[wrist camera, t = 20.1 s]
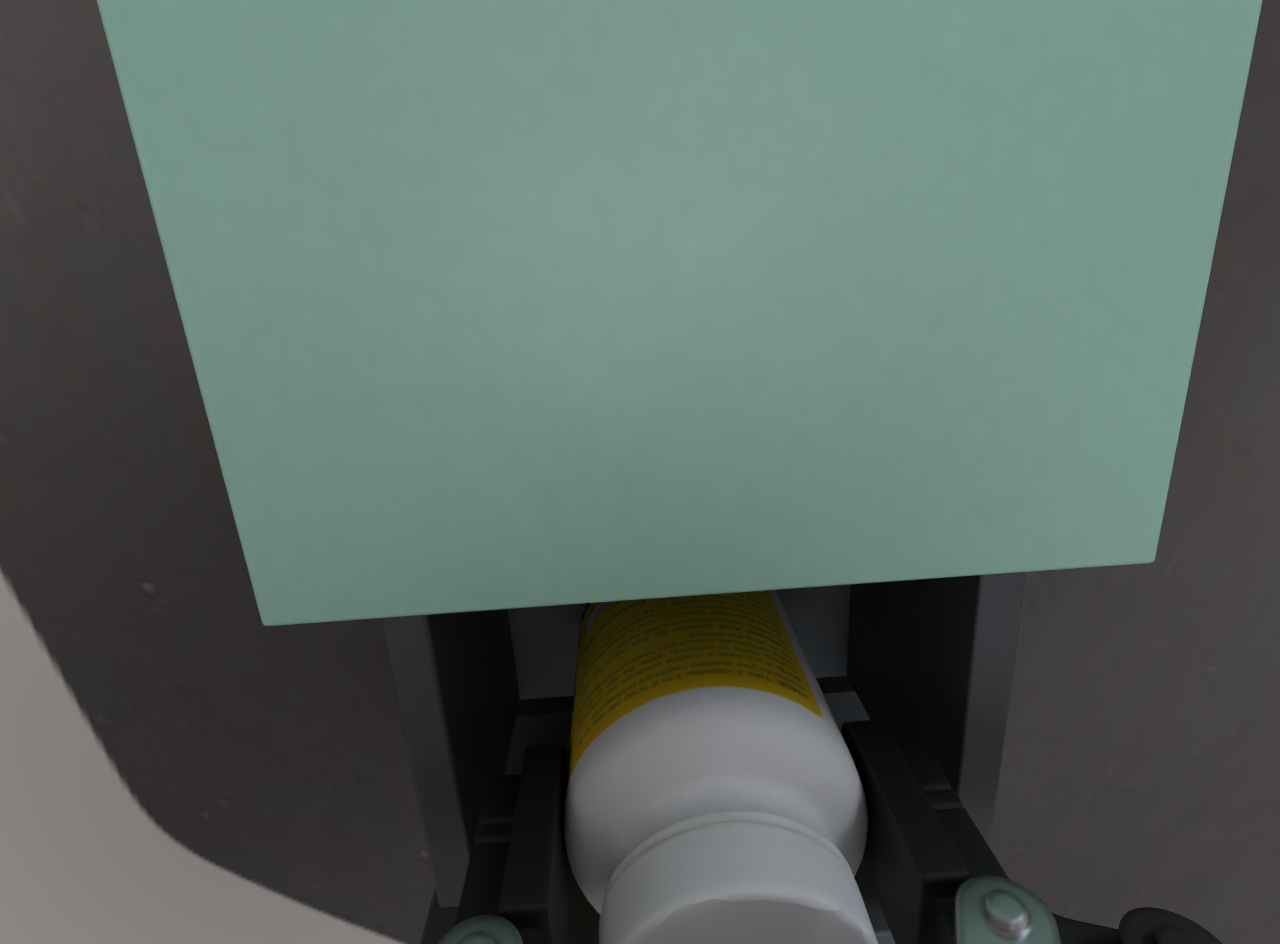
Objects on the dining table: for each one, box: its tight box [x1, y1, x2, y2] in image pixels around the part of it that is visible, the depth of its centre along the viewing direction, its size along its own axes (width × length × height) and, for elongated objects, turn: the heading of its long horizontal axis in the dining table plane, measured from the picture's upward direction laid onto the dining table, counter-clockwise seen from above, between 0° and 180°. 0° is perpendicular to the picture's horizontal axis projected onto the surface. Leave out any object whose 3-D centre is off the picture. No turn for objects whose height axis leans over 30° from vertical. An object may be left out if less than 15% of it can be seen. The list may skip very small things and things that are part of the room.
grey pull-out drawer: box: [381, 572, 1026, 944], centre depth 17 cm, size 20×12×8 cm, turn 3°
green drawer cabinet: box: [97, 0, 1262, 626], centre depth 13 cm, size 16×14×10 cm
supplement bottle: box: [564, 590, 878, 944], centre depth 14 cm, size 5×5×10 cm
